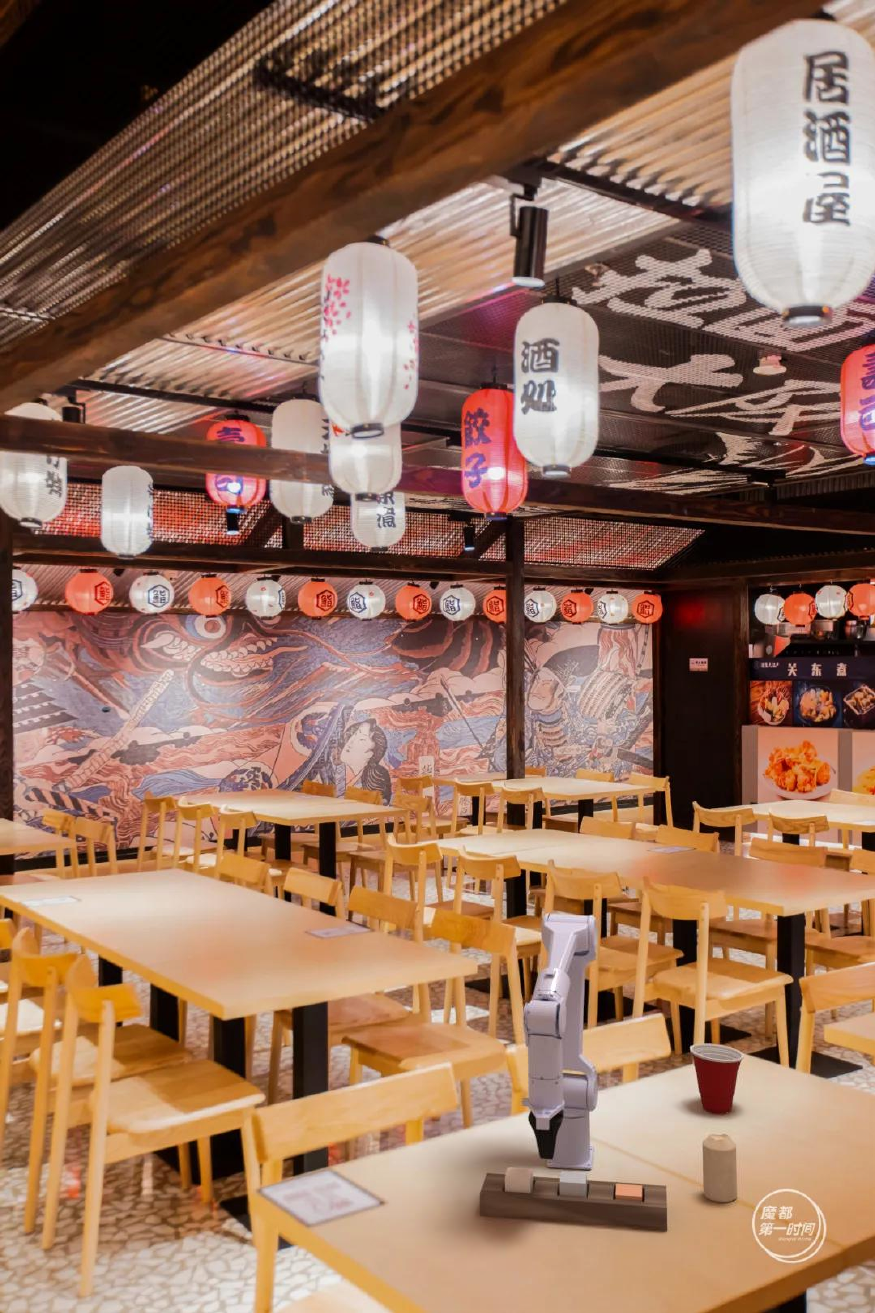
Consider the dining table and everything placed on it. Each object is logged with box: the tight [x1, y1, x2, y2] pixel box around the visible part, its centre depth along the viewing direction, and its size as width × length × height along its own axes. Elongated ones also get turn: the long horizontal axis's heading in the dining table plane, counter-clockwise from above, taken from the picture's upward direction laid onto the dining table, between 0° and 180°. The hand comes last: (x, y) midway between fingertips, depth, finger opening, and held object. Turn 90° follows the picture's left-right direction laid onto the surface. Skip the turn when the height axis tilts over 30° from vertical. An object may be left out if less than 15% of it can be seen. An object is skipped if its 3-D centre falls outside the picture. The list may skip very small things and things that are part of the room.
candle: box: [702, 1133, 738, 1203], centre depth 184 cm, size 6×6×10 cm
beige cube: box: [505, 1166, 534, 1193], centre depth 180 cm, size 4×4×4 cm
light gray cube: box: [559, 1170, 588, 1198], centre depth 179 cm, size 4×4×4 cm
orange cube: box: [615, 1184, 642, 1202], centre depth 177 cm, size 4×4×4 cm
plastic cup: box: [689, 1042, 745, 1115], centre depth 223 cm, size 11×11×12 cm
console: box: [479, 1172, 668, 1231], centre depth 179 cm, size 8×30×4 cm, turn 79°
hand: (546, 1157), depth 180 cm, fingers closed
